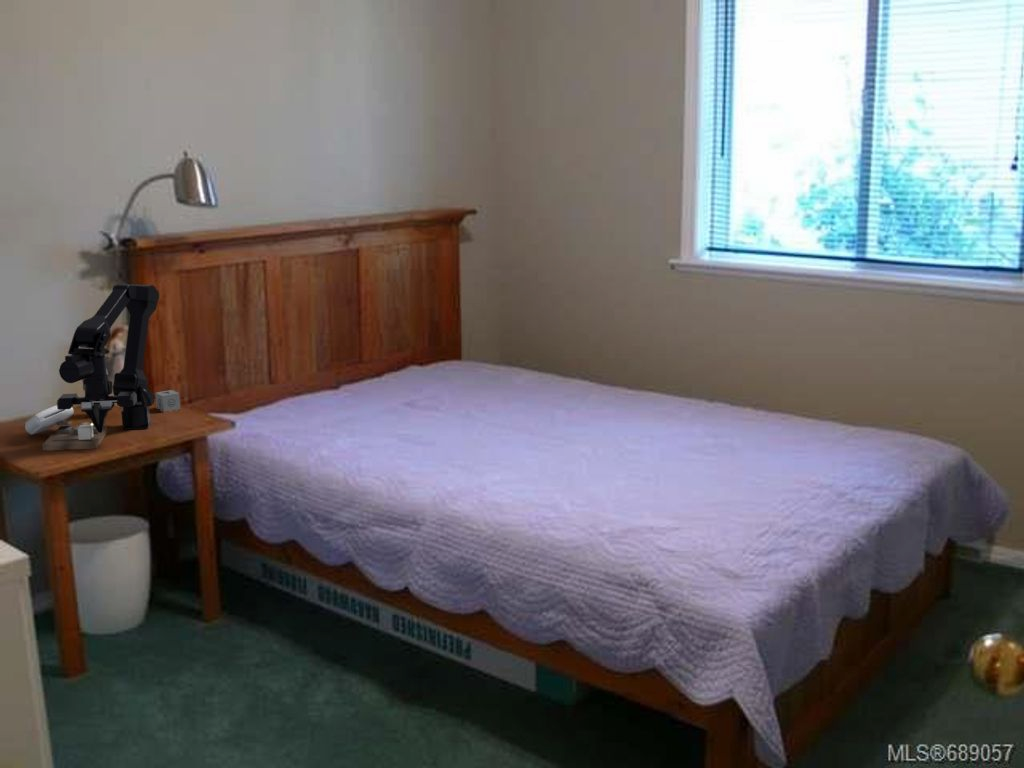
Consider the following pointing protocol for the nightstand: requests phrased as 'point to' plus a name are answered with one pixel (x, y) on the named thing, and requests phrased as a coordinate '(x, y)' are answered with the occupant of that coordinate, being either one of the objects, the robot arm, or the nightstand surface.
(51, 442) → the control panel
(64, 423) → the rocker switch
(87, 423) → the brass button
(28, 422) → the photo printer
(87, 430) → the slider knob
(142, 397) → the robot arm
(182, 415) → the nightstand surface
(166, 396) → the dice cube
